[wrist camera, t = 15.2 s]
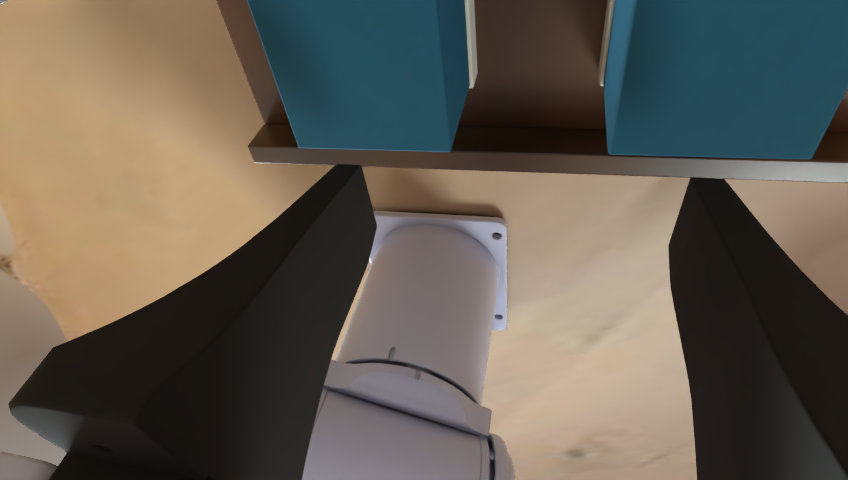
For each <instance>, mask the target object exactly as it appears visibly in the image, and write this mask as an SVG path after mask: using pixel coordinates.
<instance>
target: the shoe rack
mask: <svg viewBox="0 0 848 480" xmlns="http://www.w3.org/2000/svg"><path fill="white" fill-rule="evenodd" d="M217 3H218V5H219V8H220V10H221V13H222V16H223V18H224V21H225V23H226V26H227V28H228V31H229V33H230V36H231V39H232V41H233V44H234V46H235V49H236V51H237V54H238V57H239V59H240V62H241V64H242V67H243V69H244V72H245V74H246V77H247V80H248V82H249V85H250V87H251V90H252V92H253V95H254V98H255V100H256V103H257V105H258V108H259V110H260V113H261V115H262V118H263V121H264V123H265V125H263V127H262V128H261V129H260V131H259V132H258V133H257V135H256V136H255V137H254V139H253V140H252V141H251V142H250V144H249V145H248V148H249V150H250V153H251V155H252V157H253V160H254V162H255V163H274V164H303V165H333V166H336V165H337V164H351V165H361V166H362V167H391V168H421V169H450V170H480V171H509V172H539V173H568V174H598V175H627V176H657V177H686V178H691V177H697V178H724V179H745V180H774V181H804V182H833V183H848V88H847V90H846V92H845V94H844V96H843V98H842V100H841V102H840V104H839V106H838V108H837V110H836V112H835V114H834V116H833V118H832V120H831V122H830V124H829V126H828V128H827V130H826V132H825V134H824V136H823V138H822V140H821V141H820V143H819V145H818V147H817V149H816V151H815V153H814V155H813V157H812V158H811V159H808V160H803V159H764V158H724V157H685V156H645V155H611V154H609V153H608V149H607V133H606V117H605V101H604V86H600V84H599V70H598V69H599V62H600V54H601V46H602V39H603V31H604V23H605V16H606V8H607V0H474V7H475V28H476V49H477V71H478V73H477V77H476V80H475V84H474V87H473V88H469V90H468V93H467V97H466V100H465V104H464V107H463V111H462V114H461V117H460V121H459V124H458V128H457V131H456V135H455V138H454V142H453V145H452V149H451V151H450V152H426V151H387V150H349V149H310V148H299V147H298V145H297V142H296V139H295V136H294V133H293V130H292V128H291V125H290V122H289V119H288V116H287V113H286V110H285V108H284V105H283V102H282V99H281V96H280V93H279V90H278V88H277V85H276V82H275V79H274V76H273V73H272V70H271V68H270V65H269V62H268V59H267V56H266V53H265V50H264V48H263V45H262V42H261V39H260V36H259V33H258V30H257V28H256V25H255V22H254V19H253V16H252V13H251V10H250V8H249V5H248V2H247V0H217Z"/></svg>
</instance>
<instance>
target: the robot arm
mask: <svg viewBox="0 0 848 480" xmlns="http://www.w3.org/2000/svg"><path fill="white" fill-rule="evenodd" d="M495 232H497V233H500V234H495ZM369 259H370V263H371V266H370V269H369V271H368V274H367V277H366V279H365V282H364V285H363V287H362V290H361V293H360V295H359V298H358V301H357V303H356V306H355V309H354V311H353V314H352V317H351V320H350V322H349V325H348V328H347V330H346V333H345V336H344V338H343V341H342V344H341V346H340V349H339V352H338V354H337V357H336V360H335V361H334V360H331V358H332V354H333V351H334V348H335V346H336V343H337V340H338V337H339V334H340V332H341V329H342V327H343V325H344V322H345V320H346V317H347V315H348V312H349V310H350V307H351V305H352V302H353V300H354V297H355V295H356V292H357V290H358V287H359V285H360V282H361V280H362V277H363V275H364V272H365V270H366V267H367V264H368V262H369ZM669 267H670V283H671V291H672V297H673V302H674V308H675V313H676V318H677V323H678V328H679V333H680V338H681V343H682V349H683V354H684V359H685V364H686V369H687V374H688V379H689V386H690V393H691V399H692V411H693V424H694V436H695V451H696V467H697V480H848V315H846V314H845V313H844V312H843V311H842V310H841V309H840V308H839V307H838V306H837V305H835V304H834V303H833V302H832V301H831V300H830V299H829V298H828V297H827V296H826V295H825V294H824V293H823V292H822V291H821V290H820V289H819V288H818V287H817V286H816V285H815V284H814V283H813V282H812V281H811V280H810V279H809V278H808V277H807V276H806V275H805V274H804V273H803V272H802V271H801V270H800V269H799V268H798V267H797V265H796V264H795V263H794V262H793V261H792V260H791V259H790V258H789V257H788V255H787V254H786V253H785V252H784V251H783V250H782V249H781V248H780V246H779V245H778V244H777V243H776V242H775V241H774V240H773V238H772V237H771V236H770V235H769V234H768V233H767V231H766V230H765V229H764V228H763V227H762V225H761V224H760V223H759V222H758V220H757V219H756V218H755V217H754V216H753V214H752V213H751V212H750V211H749V209H748V208H747V207H746V206H745V204H744V203H743V202H742V201H741V199H740V198H739V197H738V196H737V194H736V193H735V192H734V191H733V189H732V188H731V187H730V186H729V184H728V183H727V182H726V181H725V180H724V178H697V177H691V178H690V181H689V184H688V187H687V190H686V193H685V196H684V199H683V203H682V206H681V209H680V212H679V215H678V218H677V221H676V224H675V227H674V230H673V233H672V237H671V240H670V243H669ZM507 323H508V322H507V223H506V221H505V220H504V219H502V218H498V217H482V216H464V215H446V214H427V213H409V212H391V211H373V208H372V204H371V201H370V197H369V193H368V189H367V185H366V182H365V178H364V174H363V170H362V166H361V165H351V164H337V165H336V166H334V167H333V168H332V169H331V170H330V171H329V172H327V173H326V174H325V175H324V176H323V177H322V178H321V179H320V180H319V181H318V182H316V183H315V184H314V185H313V186H312V187H311V188H310V189H309V190H308V191H307V192H306V193H304V194H303V195H302V196H301V197H300V198H299V199H298V200H297V201H296V202H294V203H293V204H292V205H291V206H290V207H289V208H288V209H287V210H285V211H284V212H283V213H282V214H281V215H280V216H279V217H278V218H276V219H275V220H274V221H273V222H271V223H270V224H269V225H268V226H267V227H265V228H264V229H263V230H262V231H260V232H259V233H258V234H257V235H255V236H254V237H253V238H252V239H251V240H249V241H248V242H247V243H246V244H244V245H243V246H242V247H240V248H239V249H238V250H236V251H235V252H233V253H232V254H231V255H229V256H228V257H227V258H225V259H224V260H222V261H221V262H219V263H218V264H216V265H215V266H213V267H212V268H210V269H209V270H207V271H206V272H204V273H203V274H201V275H199V276H198V277H196V278H194V279H193V280H191V281H189V282H188V283H186V284H184V285H183V286H181V287H179V288H177V289H176V290H174V291H172V292H171V293H169V294H167V295H166V296H164V297H162V298H160V299H158V300H156V301H155V302H153V303H151V304H149V305H147V306H145V307H143V308H141V309H139V310H137V311H135V312H133V313H131V314H129V315H127V316H125V317H123V318H121V319H119V320H117V321H114V322H112V323H110V324H108V325H106V326H104V327H101V328H99V329H97V330H94V331H92V332H89V333H87V334H85V335H82V336H80V337H78V338H75V339H73V340H71V341H68V342H66V343H64V344H61V345H59V346H56V347H53V348H52V350H51V351H50V352H49V353H48V355H47V356H46V357H45V358H44V360H43V361H42V362H41V364H40V365H39V366H38V367H37V369H36V370H35V371H34V372H33V374H32V375H31V376H30V377H29V379H28V380H27V381H26V382H25V384H24V385H23V386H22V387H21V389H20V390H19V391H18V392H17V394H16V395H15V396H14V397H13V399H12V400H11V401H10V402H9V408H10V411H11V414H12V415H13V416H14V417H15V418H16V419H17V420H18V421H19V422H20V423H22V424H23V425H25V426H26V427H27V428H29V429H31V430H32V431H34V432H36V433H37V434H38V435H40V436H42V437H43V438H45V439H46V440H48V441H50V442H51V443H53V444H54V445H56V446H57V447H59V448H61V449H62V450H64V451H65V452H67V454H66V456H65V457H64V458H63V460H62V461H61V463H60V464H59V466H56V465H54V464H51V463H48V462H46V461H42V460H39V459H34V458H29V457H25V456H20V455H15V454H11V453H6V452H0V480H515V476H514V467H513V463H512V459H511V457H510V455H509V453H508V451H507V448H506V445H505V443H504V441H503V439H502V438H501V437H499V436H497V435H495V434H492V433H489V429H490V421H491V413H492V411H491V410H490V409H488V408H486V407H483V406H481V403H482V396H483V389H484V382H485V375H486V368H487V360H488V353H489V346H490V339H491V332H492V330H498V331H502V330H505V329H506V328H507Z"/></svg>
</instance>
